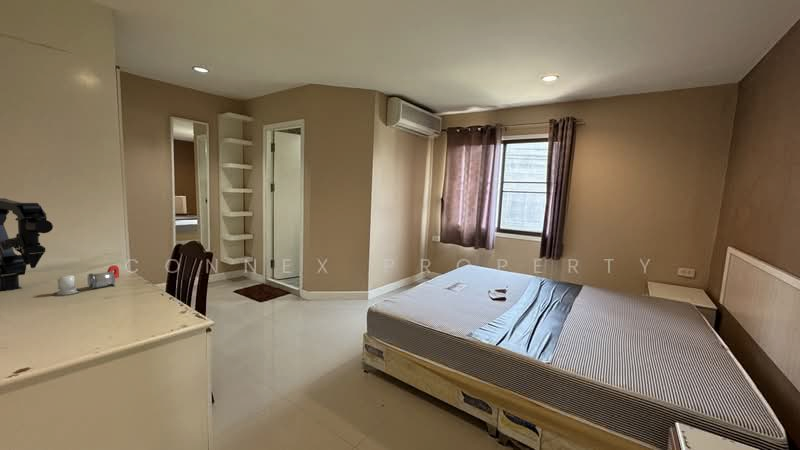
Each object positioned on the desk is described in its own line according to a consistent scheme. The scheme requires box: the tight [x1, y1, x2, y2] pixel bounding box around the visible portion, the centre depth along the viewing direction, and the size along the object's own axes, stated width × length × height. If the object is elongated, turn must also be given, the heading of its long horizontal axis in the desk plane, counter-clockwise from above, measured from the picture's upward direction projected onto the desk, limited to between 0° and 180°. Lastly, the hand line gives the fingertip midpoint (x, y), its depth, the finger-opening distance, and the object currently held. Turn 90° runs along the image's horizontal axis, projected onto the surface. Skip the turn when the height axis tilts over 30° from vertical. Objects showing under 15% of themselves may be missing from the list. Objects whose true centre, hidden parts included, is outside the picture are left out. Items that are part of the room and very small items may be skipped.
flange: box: [52, 288, 83, 297], centre depth 143 cm, size 9×9×1 cm
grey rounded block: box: [87, 271, 116, 290], centre depth 152 cm, size 8×8×7 cm
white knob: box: [57, 274, 77, 294], centre depth 142 cm, size 6×5×7 cm
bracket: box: [106, 265, 120, 279], centre depth 162 cm, size 12×4×8 cm, turn 10°
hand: (30, 266), depth 140 cm, fingers open, 9 cm apart
